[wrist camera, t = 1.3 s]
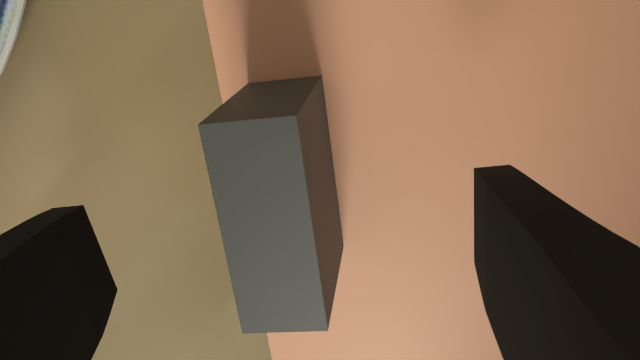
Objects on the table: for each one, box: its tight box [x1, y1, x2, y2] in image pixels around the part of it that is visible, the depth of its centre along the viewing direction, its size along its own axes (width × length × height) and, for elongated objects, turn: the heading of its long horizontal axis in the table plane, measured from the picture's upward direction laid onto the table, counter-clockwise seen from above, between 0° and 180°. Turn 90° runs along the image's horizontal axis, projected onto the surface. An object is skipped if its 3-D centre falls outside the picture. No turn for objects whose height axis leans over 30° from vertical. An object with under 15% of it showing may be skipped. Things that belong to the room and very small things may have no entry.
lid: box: [198, 0, 640, 360], centre depth 13 cm, size 17×17×5 cm
